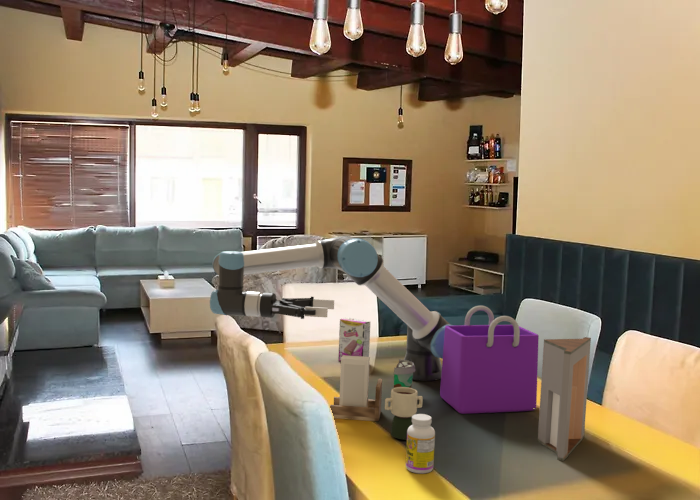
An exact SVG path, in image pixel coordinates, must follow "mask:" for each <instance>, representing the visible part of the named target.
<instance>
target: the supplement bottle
mask: <svg viewBox="0 0 700 500" xmlns="http://www.w3.org/2000/svg"><path fill="white" fill-rule="evenodd" d="M432 419H433V418H432V416H430V415H428V414H427V413H426V414H425V413H416V414H415V415H413V416H412V423H413V425H411V426H410V427H409V428H408V430H407V440H406V452H405V453H406V454H405V468H406V469H407V470H408V471H409V472H411V473H414V474H419V475H420V474H428V473H431V472H432V471H433V470H434V465H435V463H434V462H435V441H436V431H435V429H434V427H432V425H431V424H432V422H433V421H432Z"/></svg>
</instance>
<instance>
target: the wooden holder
mask: <svg viewBox="0 0 700 500" xmlns="http://www.w3.org/2000/svg"><path fill="white" fill-rule="evenodd" d="M382 393H383V379H382V378H377V382H376V385H375V396H374V397H375V399H372V398H371V399H370V398H368V407H356V406H342V405H339V401H340V396H334V397H333V404H330V405H329V409H330V408H331V410H332V413H333V416H334V418H333V419H342V420H355V421H357V420H358V421H369V422H379V421H380V417H381V413H382V395H383V394H382Z"/></svg>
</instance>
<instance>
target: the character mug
mask: <svg viewBox="0 0 700 500" xmlns="http://www.w3.org/2000/svg"><path fill="white" fill-rule="evenodd" d="M418 394H419V393H418V390H417V389H415V388H412V387H411V388H408V387H396V388H394V387H393V388H391V390H390V397H386V398H385V399H384V410H385V411H390V412H391V414H392V415H393V418H392V423H391V430H390V436H392V437H393V438H396V439H398V440H402V441H404V440H405V441H407V430H408V428H409V427H410V426H411V425H413V423H412V416H413V415H415V414H417V412H418V409H420V408H422V407H423V402H424V401H423V399H424V398H423V396H422V395H418ZM389 402H390V406H389Z"/></svg>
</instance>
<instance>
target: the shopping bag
mask: <svg viewBox="0 0 700 500" xmlns="http://www.w3.org/2000/svg"><path fill="white" fill-rule="evenodd" d="M479 311H480V312H481V311H482V312H485V313H486V314H487V316H488V324H475V325H474V324H471V318H472V316H473V315H474V314H475V313H476V312H479ZM501 322H508V323H509V324H499V323H501ZM539 339H540V338H539V334H537V333H535V332H533V331H531V330H529V329H528V328H527V329H526V328H524V327H523V326H519V323H518V322H517V320H516V319H515V318H513V317H511V316H509V315H500V316H497V317H496V318H495V316H494V313H493V311H492V310H491V308H489V307H488V306H485V305H475V306H473V307H472V308H470V309H469V310H468V311H467V313H466V315H465V318H464V324H463V325H462V324H461V325H455V324H454V326H445V335H444V347H443V359H442V362H441V365H442V374H441V379H440V388H439V389H440V390H439V395H440V398H441V399H442V400H444V401H445V402H446V403H447V404H448V405H450V406H451V407H452V408H453V409H454V410H455V411H456V412H458V413H459V414H460V415H461V414H462V415H463V414H464V415H467V414H469V415H470V414H493V413H514V412H532V411H536V409H537V397H538V396H537V395H538V394H537V393H538V389H537V388H538V365H539ZM533 408H535V409H533Z"/></svg>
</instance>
